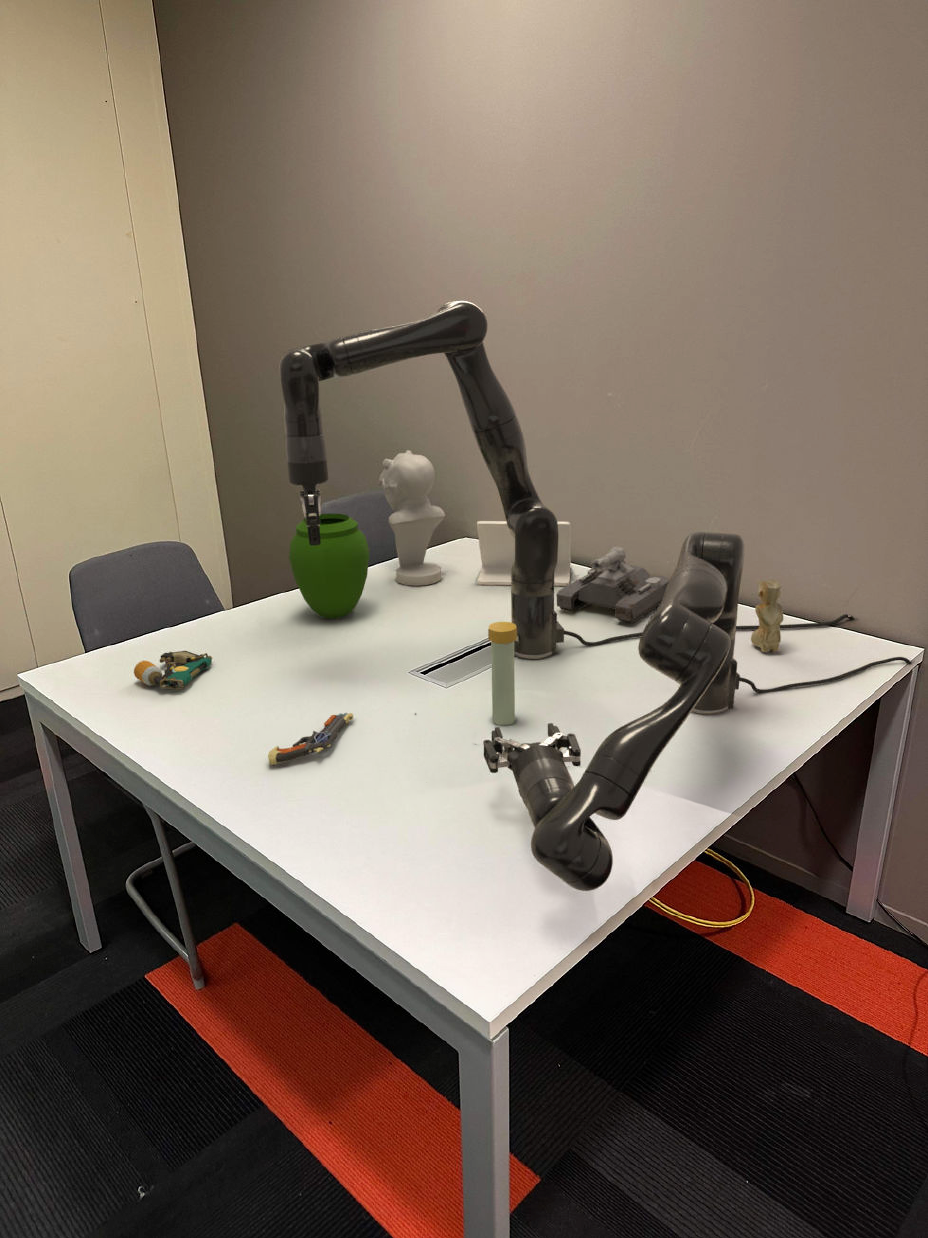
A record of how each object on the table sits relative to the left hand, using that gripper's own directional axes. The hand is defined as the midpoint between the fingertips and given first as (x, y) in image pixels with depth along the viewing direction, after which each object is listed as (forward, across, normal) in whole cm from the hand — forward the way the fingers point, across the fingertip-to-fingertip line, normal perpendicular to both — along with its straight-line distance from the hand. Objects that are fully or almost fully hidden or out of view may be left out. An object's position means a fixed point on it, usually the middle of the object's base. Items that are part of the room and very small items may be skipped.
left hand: (314, 539), depth 170 cm
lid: (+11, -30, -31) cm, 44 cm away
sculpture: (+29, -12, -94) cm, 99 cm away
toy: (+29, +23, -73) cm, 82 cm away
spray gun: (+29, +7, +31) cm, 43 cm away
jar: (+29, -30, -31) cm, 52 cm away
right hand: (+20, -50, -29) cm, 62 cm away
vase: (+29, +36, -4) cm, 47 cm away
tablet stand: (+29, +53, -58) cm, 84 cm away
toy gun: (+29, -30, +4) cm, 42 cm away
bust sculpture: (+29, +61, -26) cm, 73 cm away
